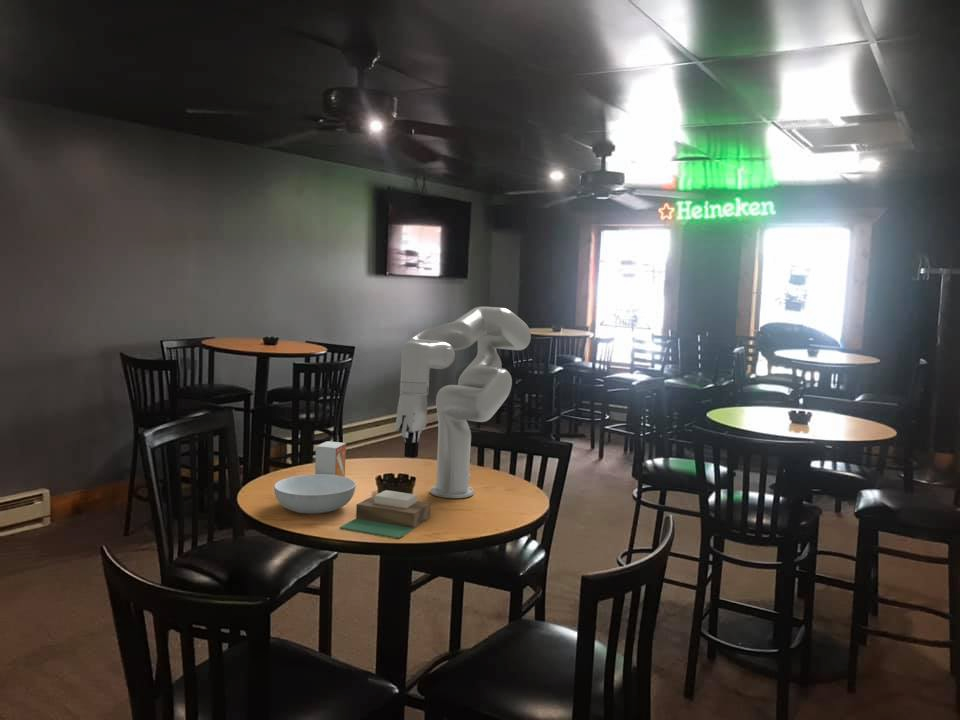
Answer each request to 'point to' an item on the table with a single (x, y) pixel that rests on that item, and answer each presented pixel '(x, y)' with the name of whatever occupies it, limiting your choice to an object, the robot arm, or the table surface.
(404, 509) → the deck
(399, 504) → the light grey flat block
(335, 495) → the serving bowl
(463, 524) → the table surface
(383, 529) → the mat
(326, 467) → the small box
